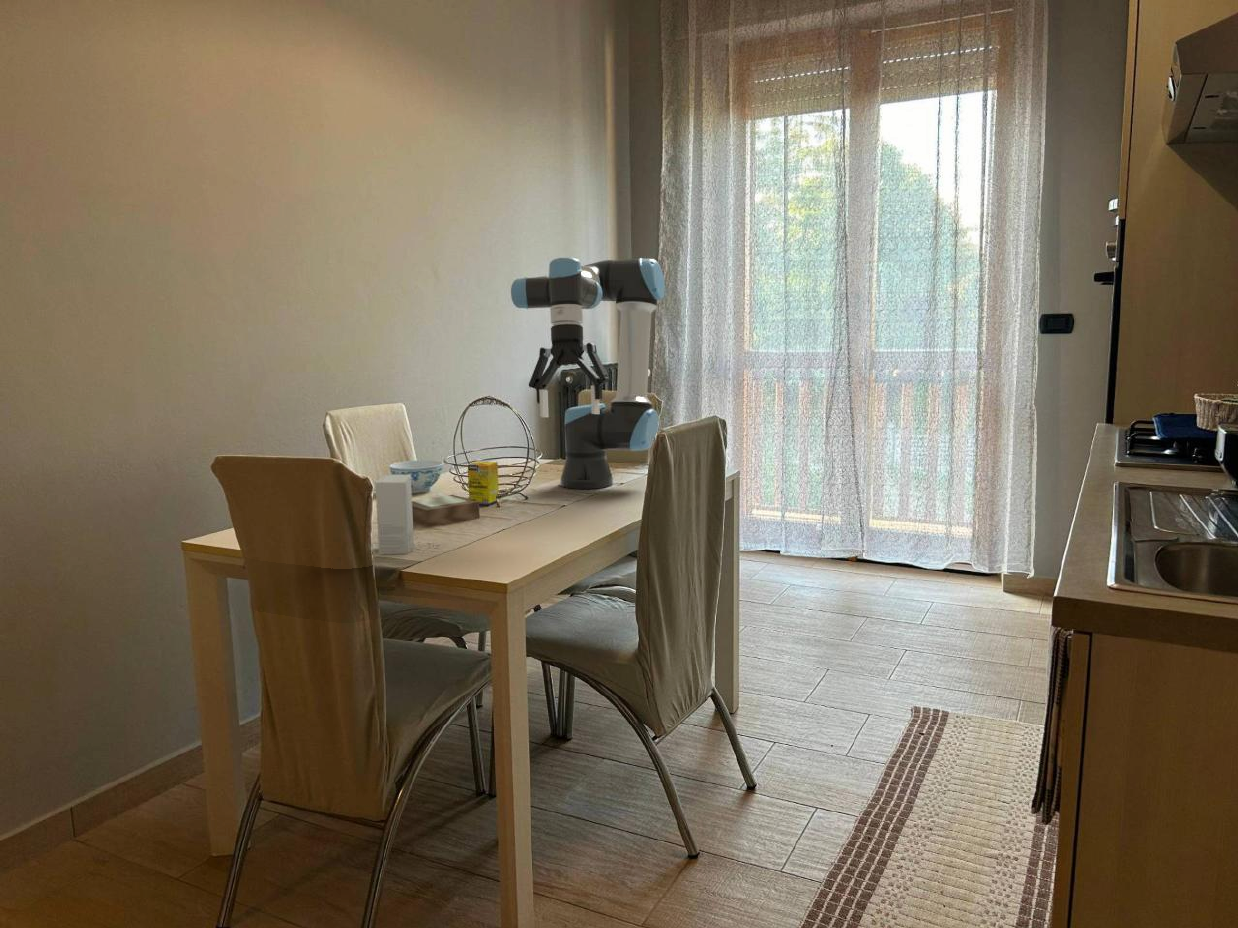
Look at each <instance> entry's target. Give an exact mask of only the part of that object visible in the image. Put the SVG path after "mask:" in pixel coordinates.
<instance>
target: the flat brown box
mask: <svg viewBox="0 0 1238 928" xmlns="http://www.w3.org/2000/svg"><path fill="white" fill-rule="evenodd" d="M412 513H413V523H414V524H418V525H421V526H423V527H426V528H430V527H435V526H436V527H437V526H441V525H442V526H443V525H446V524H452V523H453V524H454V523H458V522H463V521H470V520H476V519H480V506H479V502H477V501H474V500H470V499H469V498H467V497H462V496H459V495H455V494H449V495H442V496H435V497H428V498H424V499H423V498H422V499H415V500H412Z"/></svg>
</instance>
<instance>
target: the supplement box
mask: <svg viewBox="0 0 1238 928" xmlns="http://www.w3.org/2000/svg"><path fill="white" fill-rule="evenodd" d="M467 480H468V481H467V482H468V499H470V500H474V501H477V502H479V505H483V507H491V506H493V504H494V505H496V504H497V503H496V502H497V499H496V495H497V494H499V495H500V492H499V491H500V490H499V463H498V462H497V461H480V460H479V461H478V460H477V461H475V462H471V463H468V464H467ZM495 503H496V504H495ZM490 505H491V506H490Z"/></svg>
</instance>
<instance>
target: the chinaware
mask: <svg viewBox="0 0 1238 928" xmlns="http://www.w3.org/2000/svg"><path fill="white" fill-rule="evenodd" d="M388 468H389V470H390V473H391V474H390V475H409V474H410V475H411V490H412V494H422V493H427V492H429V491H431V487H433V486H434V485H435V484H436V483H437V482H438V480H439V479H440V477H441V475H442V472H443V468H444V462H443V461H441V460H429V459H428V460H427V459H426V460H425V459H424V460H422V459H421V460H418V459H417V460H408V461H407V460H406V461H399V462H395V463H391V464H389V467H388Z"/></svg>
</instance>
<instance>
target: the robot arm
mask: <svg viewBox="0 0 1238 928" xmlns="http://www.w3.org/2000/svg"><path fill="white" fill-rule="evenodd" d="M548 265H549V269H548V275H542V276H537V277H521V278H516V279H515V280H514V281H513V282H512V284H511V286H510V287H511V288H510V296H511V297H510V298H511V301H512V303H513V305H514V306H515V307H516V308H517V309H527V310H529V309H545V308H546V309H548V308H549V309H550V324H551V328H550V338H551V339H550V340H551V348H547V347H540V348H539V353H538V359H537V362H536V365H535V367H534V369H533V372H532V374H531V377H530V380H529V382H528V387H530V388H533V389H535V391H536V402H537V404H539V415H540V418H544V419H545V418H549V391H548V389H546V387H547V385H548V384H549V383H550V381H551V380H552V378H553V377H554V376H555V374H556V373H557V371H558V370H559V369H560V368H561V366H565V367H566V366H569V365H572V366H575V365H577V366H578V367H579V369H581V370H582V372H583V373H584V374H585V375H586V376H587V378H589V380H590V381H591V382H592V385H590V404H585V405H584V404H583V405H579V406H573V407H570V408H567V409H566V410H565V413H564V424H563V425H564V440H565V441H564V443H565V444H564V445H565V460H564V465H563V468H562V471H561V476H560V479H559V480H560V487H563V488H567V489H575V490H576V489H577V490H589V489H592V490H594V489H601V488H602V489H603V488H606V487H607V488H608V487H610V486H612V485H613V484H614V483H613V481H614V479H613V474H612V472H611V467H610V464H609V462H608V460H607V459H608V458H607V450H609V451H610V450H611V451H612V450H613V451H631V452H637V451H646V450H648V449H650V448H651V447H652V446H653V444H654V442H653V440H654V437H655V435H656V433H657V434H658V431H659V430H658V429H659V414H658V411H657V410H655V409H654V408H653V403H652V401H650V399H649V398H648V383H649V382H648V381H649V367H650V366H649V361H650V343H651V340H650V339H651V321H652V320H651V319H652V314H653V312H654V311H656V309H657V308H658V307H657V306H658V302H660V301H661V300H662V301H663V299H664V297H665V293H666V292H665V291H666V285H665V277H664V273H663V271H662V267H661V266H660V264H659V262H658V261H657V260H656V259H654V258H642V257H640V258H639V257H638V258H626V259H607V260H601V261H597V262H596V261H595V262H592V263H589V264H585V265H581V261H580V260H579V259H578V258H574V257H556V258H554V259H552V260H551V261H550V262H549V264H548ZM601 302H615V307H616V308H617V310H618V311H620V321H619V322H620V324H619V341H618V342H619V343H618V344H619V345H618V361H617V362H618V363H617V364H618V365H617V382H616V396H615V397H614V398H613V399H612V400H611V401H610V408H606V407H607V405H606V404H605V403H603V402H602V403H600V400H603V385H604V384H606V383H609V382H610V380H611V378H610V376H609V375H608V373H607V370H606V368H605V367H604V365H603V363H602V361H601V359H600V356H599V355H598V352H597V346H596V344H595V343H591V342H588V343H586V344H584V342H583V341H584V327H583V325H581V324H583V323H584V321H583V319H584V318H583V310H592V309H595V308H596V307H597V306H598V305H600V303H601ZM584 352H585V353H586V354H587V356H588V358H589V359H590V361H591V362H590V363H592V365H593V367H594V370H595V371H594V370H593V368H592V367H591V366H590V365H589V363H588V362H587V361H586V359H585V358H584V357H583V354H584ZM551 356H552V359H551V360H550V362H549V365H548V361H549V358H550V357H551ZM547 365H548V367H547ZM546 367H547V368H546ZM656 436H657V435H656ZM652 443H653V444H652ZM651 445H652V446H651Z"/></svg>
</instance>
